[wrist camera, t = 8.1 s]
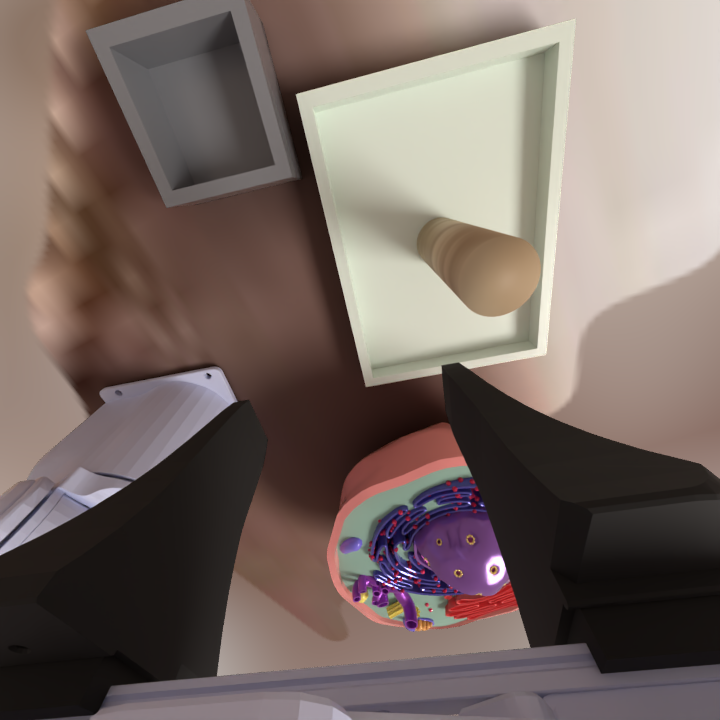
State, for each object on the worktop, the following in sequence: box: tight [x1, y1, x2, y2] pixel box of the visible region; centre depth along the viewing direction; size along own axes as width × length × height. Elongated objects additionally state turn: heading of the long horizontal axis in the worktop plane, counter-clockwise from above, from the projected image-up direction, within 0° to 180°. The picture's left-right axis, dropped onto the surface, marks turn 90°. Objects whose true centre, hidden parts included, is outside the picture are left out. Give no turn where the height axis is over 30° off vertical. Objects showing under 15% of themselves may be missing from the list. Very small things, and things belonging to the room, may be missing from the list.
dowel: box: [417, 217, 541, 317], centre depth 14 cm, size 3×3×9 cm
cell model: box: [327, 422, 519, 632], centre depth 23 cm, size 17×20×11 cm
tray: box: [296, 19, 576, 387], centre depth 18 cm, size 12×16×2 cm
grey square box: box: [86, 0, 303, 208], centre depth 15 cm, size 6×6×3 cm
